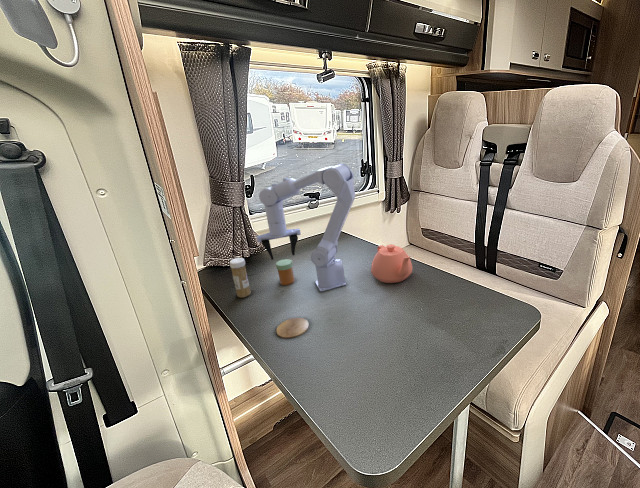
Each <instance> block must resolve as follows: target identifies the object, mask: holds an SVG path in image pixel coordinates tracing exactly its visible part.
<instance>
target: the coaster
mask: <svg viewBox="0 0 640 488" xmlns="http://www.w3.org/2000/svg"><path fill="white" fill-rule="evenodd" d="M309 326H310V325H309V321H308V320H307V318H306V319H305V318H303V317H292V318H289V319H286V320H283V322H281V323H280V324H279V325H278V326H277V327H276V335H277V336H278V337H279V338H282V339H293V338H296V337H299V336H301V335H303V334H304V333H305V332H307V330H308V329H309V328H310V327H309Z"/></svg>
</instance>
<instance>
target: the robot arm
mask: <svg viewBox="0 0 640 488" xmlns="http://www.w3.org/2000/svg"><path fill="white" fill-rule="evenodd" d="M354 178H355V175H354V173H353V171H352V169H351V168H350V167H349V166H348V165H347V164H345V163H338V164H336V165H335V166H334V165H331V166H327V167H324V168H320V169H317V170H315V171H313V172H311V173H309V174H307V175H304V176H302V177H300V178H298V179H295V178H294V177H293V178H292V177H290V178H289V177H285V178H283V179H282V181H280V182H278V183H271V186H269V187H266V188H265V187H264V188H262V190H261V191H259V194H258V198H259V201H260V202H261V204H263V205H264V210H265V215H266V220H267V225H268V232H267V233H262V234H260V235H259V234H258V235H256V241H257V243H258V244H259V243H261V245H262V246H263V247H264V249H265V250H266V251H267V253H268V254H269V257H270V259H271V260H272V261H273V260H274V256H273V253H272V246H271V240H277V239H283V238H287V237H288V239H289V242H290V243H289V244H290V252H291V255H292V256H295V251H296V246H297V243H298V240H299V237H298V236H301V229H300V228H290V229H289V228H288V229H287V223H286V216H285V211H284V203H283V201H285V200H288V199H290V198H293V197H295V196H297V195H299V194H300V192H301V189H304V188H306V187H309V186H312V185H314V184H317V183H318V184H320V185H322V186H324V185H325V186H326V187H327V188H328V189H329V190H330V192H332V193H333V194H334V195H335V196H336V202H335V205H334V207H333V209H332V212H331V215H330V217H329V220H328V223H327V225H326V227H325V230H324V233H323V236H322V238H321V240H320V241H319V242H318V244H317V246H316V249H314V250H313V251H312V252H311V254H310V260H311V262H312V264H313V265H314V266H315V272H316V278H317V280H315V281H314V283H315V285H316V287H317V288H318V291H319V292H324V291H329V290H332V289H336V288H340V287H343V286H346V285H347V283H346V277H345V268H344V263H343V262H342V259H340V258H338V259H337V258H336V255H337V254H338V244H339V241H338V240H339V237H340V235H341V233H342V230H343V228H344V225H345V223H346V220H347V218H348V215H349V214H350V211H351V208H352V207H353V204H354V201H355V199H356V191H355V184H354Z"/></svg>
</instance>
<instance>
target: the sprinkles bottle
mask: <svg viewBox="0 0 640 488" xmlns="http://www.w3.org/2000/svg"><path fill="white" fill-rule="evenodd" d="M229 266H230V269H231V273H232V279H233V283H234V287H235V290H236V296H237V297H238V298H246V297H248V296H250V295H251V294H252V291H251V288H250V282H249V278H248V273H247V268H246V260H245V258H243V257H235V258H233V259H231V260H230V261H229Z"/></svg>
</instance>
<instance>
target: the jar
mask: <svg viewBox="0 0 640 488" xmlns="http://www.w3.org/2000/svg"><path fill="white" fill-rule="evenodd" d="M277 274H278V279H279V284H280V285H283V286H289V285H291V284H293V283H295V281H296V279H295V275H294V269H293V266H292V267H291V268H290V269H287V270H278V269H277Z"/></svg>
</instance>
